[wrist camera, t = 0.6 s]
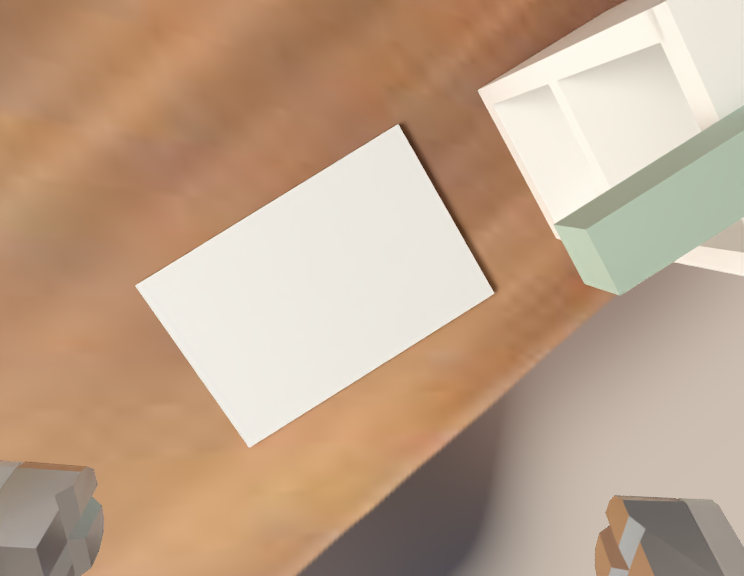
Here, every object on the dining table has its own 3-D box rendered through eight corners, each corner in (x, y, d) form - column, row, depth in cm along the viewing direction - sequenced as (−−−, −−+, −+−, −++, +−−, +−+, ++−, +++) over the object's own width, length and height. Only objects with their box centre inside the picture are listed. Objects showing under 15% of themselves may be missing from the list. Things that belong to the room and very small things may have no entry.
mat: (249, 445, 54) (249, 447, 53) (136, 284, 51) (135, 285, 50) (492, 292, 55) (494, 293, 54) (396, 124, 52) (398, 124, 51)
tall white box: (556, 238, 55) (794, 286, 30) (477, 90, 52) (665, 1, 27) (674, 164, 55) (1009, 148, 30) (602, 13, 52) (905, -147, 27)
